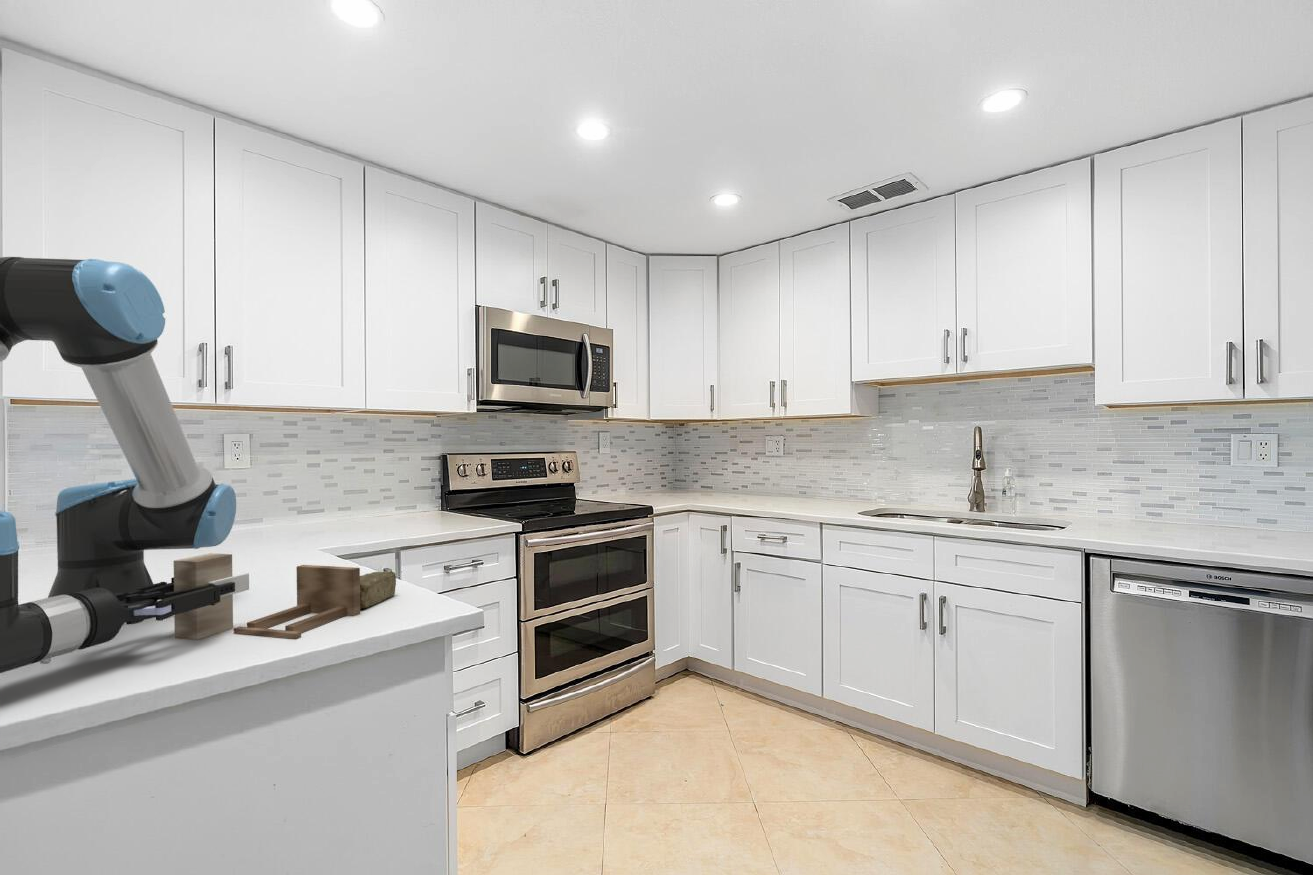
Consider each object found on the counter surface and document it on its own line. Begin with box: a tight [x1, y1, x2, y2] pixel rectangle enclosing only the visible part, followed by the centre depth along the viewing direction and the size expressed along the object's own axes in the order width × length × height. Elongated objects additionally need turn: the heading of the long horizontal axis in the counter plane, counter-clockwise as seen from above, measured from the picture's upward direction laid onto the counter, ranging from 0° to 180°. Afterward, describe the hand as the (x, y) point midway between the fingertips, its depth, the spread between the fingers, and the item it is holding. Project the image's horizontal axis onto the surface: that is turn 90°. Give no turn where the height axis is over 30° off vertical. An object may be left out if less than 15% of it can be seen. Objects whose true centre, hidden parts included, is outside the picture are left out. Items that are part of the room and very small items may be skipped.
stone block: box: [360, 571, 397, 610], centre depth 115 cm, size 6×12×5 cm, turn 173°
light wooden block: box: [173, 552, 234, 641], centre depth 98 cm, size 4×6×12 cm
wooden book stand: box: [233, 564, 361, 640], centre depth 103 cm, size 12×14×8 cm
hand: (234, 580), depth 103 cm, fingers closed on light wooden block, 4 cm apart
